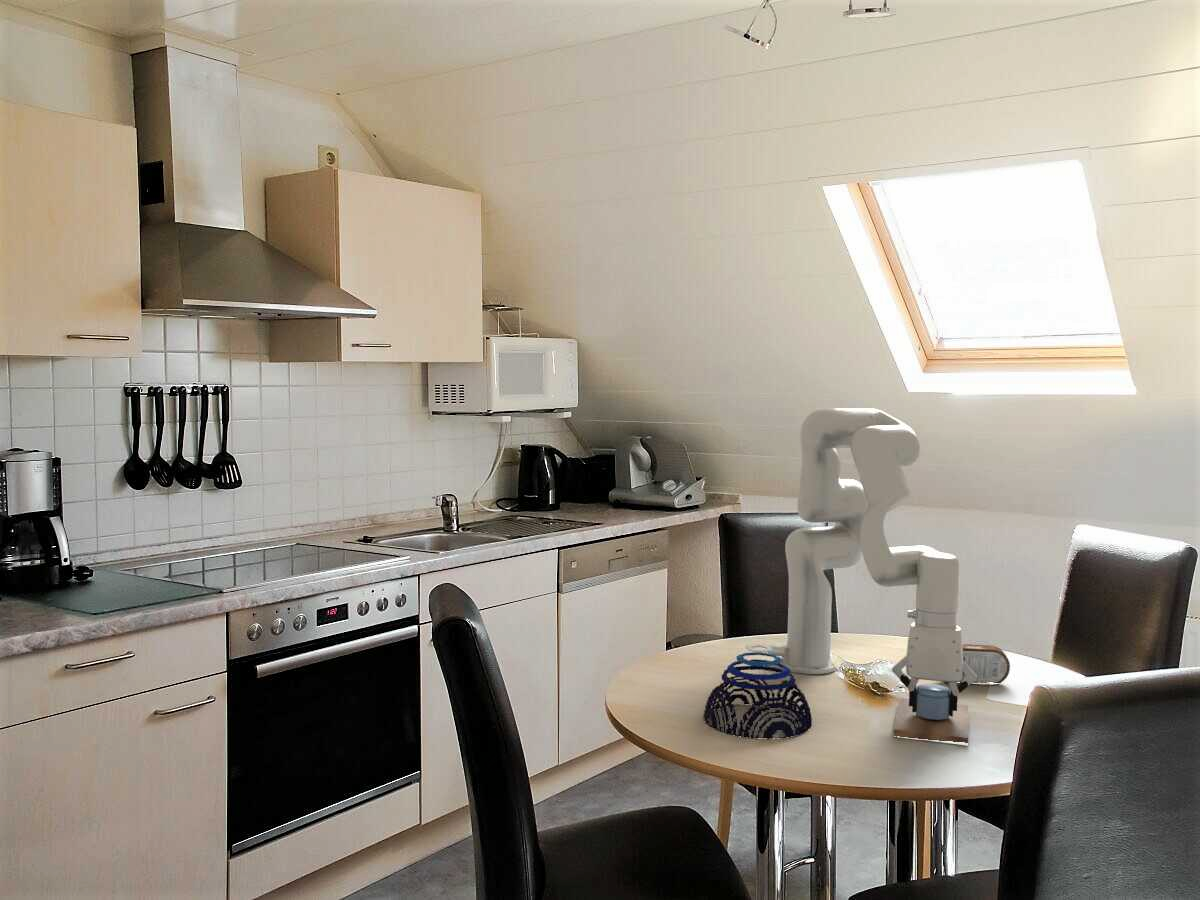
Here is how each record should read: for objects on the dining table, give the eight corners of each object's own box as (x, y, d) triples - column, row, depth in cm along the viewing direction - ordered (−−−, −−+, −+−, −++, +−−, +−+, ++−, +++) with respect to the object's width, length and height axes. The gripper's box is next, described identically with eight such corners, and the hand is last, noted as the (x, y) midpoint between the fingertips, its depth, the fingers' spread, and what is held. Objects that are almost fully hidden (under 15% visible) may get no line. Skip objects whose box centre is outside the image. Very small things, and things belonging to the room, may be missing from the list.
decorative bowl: (727, 744, 197) (729, 665, 196) (689, 709, 216) (691, 637, 215) (829, 735, 202) (831, 658, 201) (783, 702, 221) (784, 632, 220)
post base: (893, 737, 201) (893, 729, 201) (899, 705, 220) (899, 697, 220) (968, 746, 197) (968, 737, 197) (967, 712, 216) (968, 705, 216)
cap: (915, 717, 206) (916, 691, 206) (916, 708, 212) (917, 682, 211) (948, 720, 204) (949, 694, 204) (949, 711, 210) (950, 686, 209)
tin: (1006, 683, 236) (1008, 644, 235) (1010, 687, 233) (1012, 648, 232) (935, 680, 238) (936, 642, 237) (938, 684, 234) (939, 646, 234)
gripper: (887, 619, 206) (884, 713, 207) (984, 627, 200) (981, 723, 202) (890, 610, 213) (887, 701, 214) (984, 618, 207) (980, 711, 209)
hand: (932, 711), depth 208 cm, fingers closed on cap, 6 cm apart
